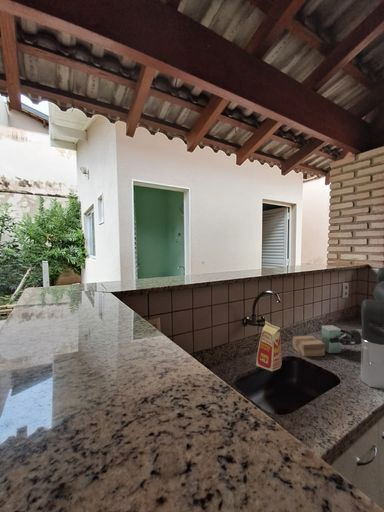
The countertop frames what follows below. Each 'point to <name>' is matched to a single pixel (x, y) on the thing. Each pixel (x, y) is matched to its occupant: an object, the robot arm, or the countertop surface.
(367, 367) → the robot arm
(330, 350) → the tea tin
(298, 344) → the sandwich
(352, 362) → the countertop surface
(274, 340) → the milk carton
